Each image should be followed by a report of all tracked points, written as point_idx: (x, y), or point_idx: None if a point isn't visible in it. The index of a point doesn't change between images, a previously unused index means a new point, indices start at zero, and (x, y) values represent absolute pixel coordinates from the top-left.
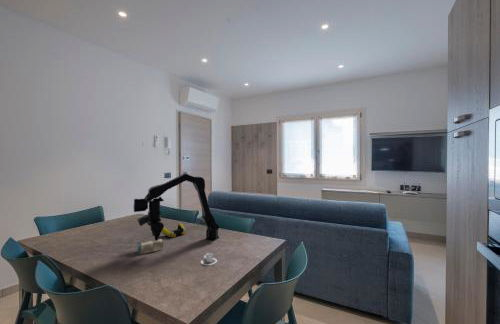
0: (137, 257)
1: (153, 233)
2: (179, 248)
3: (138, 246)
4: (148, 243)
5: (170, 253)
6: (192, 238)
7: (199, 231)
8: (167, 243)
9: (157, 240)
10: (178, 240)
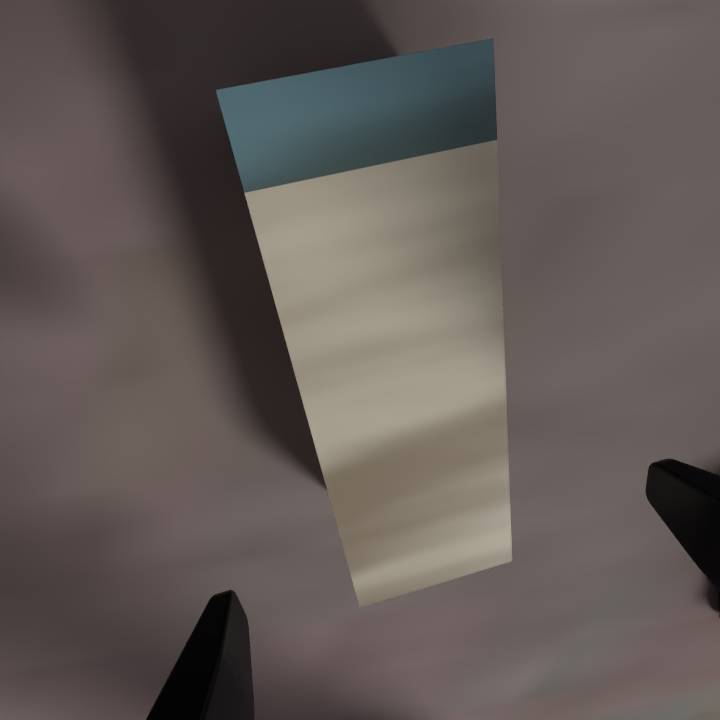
0: (45, 114)
1: (701, 518)
2: (302, 651)
3: (221, 107)
4: (336, 368)
5: (148, 598)
6: (555, 697)
7: (707, 709)
8: (545, 507)
9: (462, 509)
10: (576, 598)
